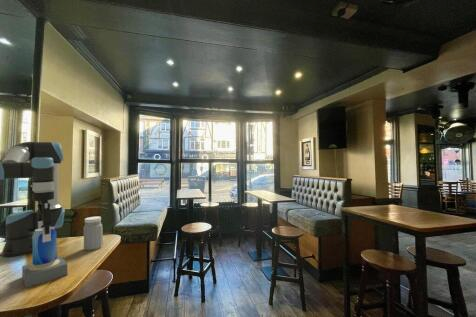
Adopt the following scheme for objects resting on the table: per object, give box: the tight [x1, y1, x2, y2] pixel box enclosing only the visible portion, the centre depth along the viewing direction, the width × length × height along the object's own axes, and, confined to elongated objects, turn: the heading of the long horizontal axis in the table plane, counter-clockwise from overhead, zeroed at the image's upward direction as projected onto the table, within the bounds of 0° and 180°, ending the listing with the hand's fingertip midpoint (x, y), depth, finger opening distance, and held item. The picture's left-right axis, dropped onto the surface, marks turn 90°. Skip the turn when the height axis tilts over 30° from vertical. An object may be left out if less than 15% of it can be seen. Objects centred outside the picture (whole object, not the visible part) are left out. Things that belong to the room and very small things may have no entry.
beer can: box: [31, 227, 58, 267], centre depth 104 cm, size 8×8×16 cm
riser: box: [21, 255, 68, 289], centre depth 103 cm, size 14×14×5 cm
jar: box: [82, 215, 104, 252], centre depth 136 cm, size 10×10×18 cm
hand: (44, 237), depth 104 cm, fingers open, 13 cm apart
